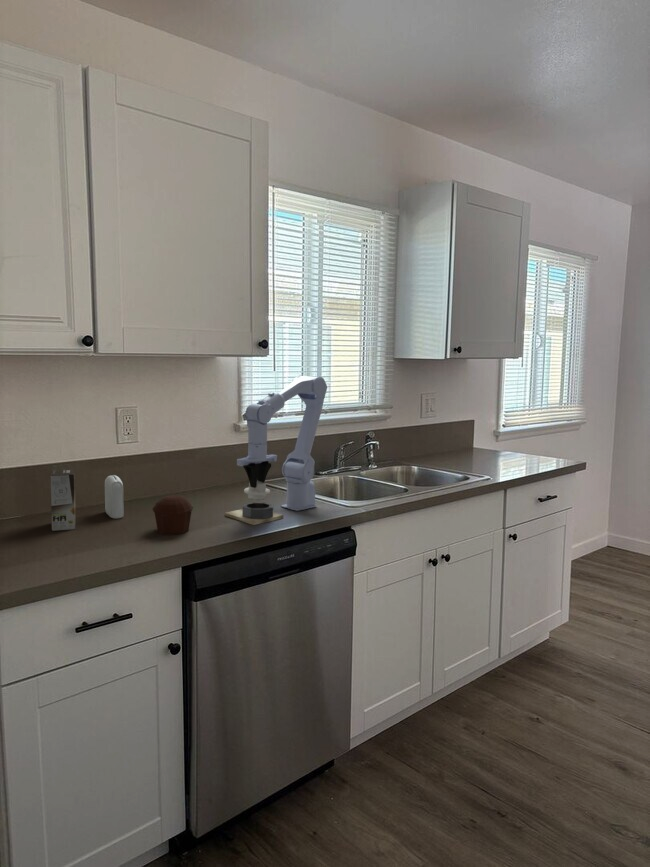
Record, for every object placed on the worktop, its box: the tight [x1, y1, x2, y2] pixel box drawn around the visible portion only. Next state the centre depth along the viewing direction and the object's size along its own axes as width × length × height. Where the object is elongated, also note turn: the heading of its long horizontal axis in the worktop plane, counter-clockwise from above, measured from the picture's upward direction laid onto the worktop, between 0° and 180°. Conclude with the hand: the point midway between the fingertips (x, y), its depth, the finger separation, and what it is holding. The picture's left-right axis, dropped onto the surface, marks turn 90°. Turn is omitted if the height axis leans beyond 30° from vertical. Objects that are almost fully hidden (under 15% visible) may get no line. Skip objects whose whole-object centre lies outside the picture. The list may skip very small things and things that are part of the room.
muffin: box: [152, 494, 194, 536], centre depth 189 cm, size 12×11×10 cm
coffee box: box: [49, 468, 76, 532], centre depth 190 cm, size 9×6×16 cm
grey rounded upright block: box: [104, 474, 125, 519], centre depth 204 cm, size 10×4×12 cm, turn 29°
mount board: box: [224, 508, 284, 526], centre depth 206 cm, size 12×14×1 cm
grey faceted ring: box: [242, 501, 274, 519], centre depth 205 cm, size 9×9×3 cm
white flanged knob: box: [243, 481, 271, 501], centre depth 204 cm, size 8×8×5 cm
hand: (257, 486), depth 204 cm, fingers closed on white flanged knob, 2 cm apart
